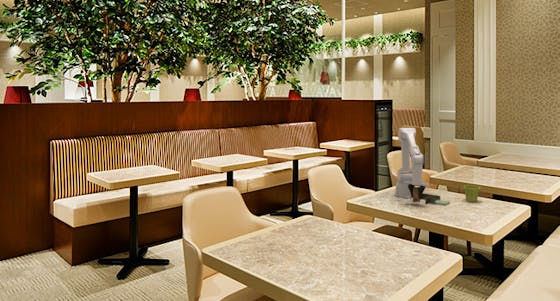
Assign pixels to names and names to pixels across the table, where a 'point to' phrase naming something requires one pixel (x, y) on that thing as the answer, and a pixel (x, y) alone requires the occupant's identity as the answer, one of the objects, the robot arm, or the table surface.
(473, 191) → the plant pot
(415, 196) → the peg
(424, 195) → the walled course
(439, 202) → the end pad
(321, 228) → the table surface
